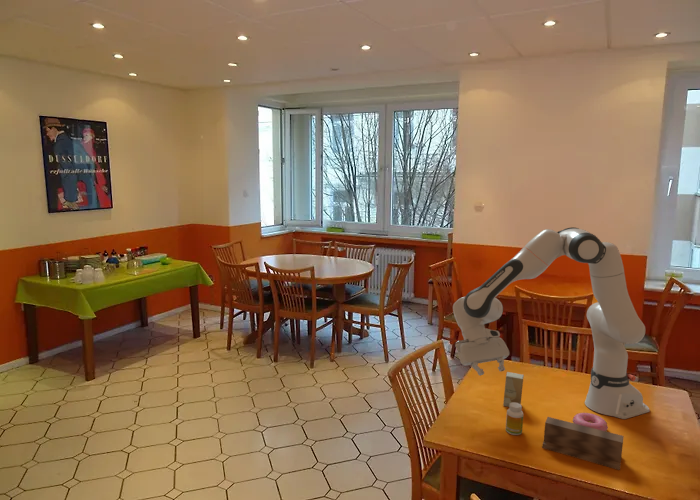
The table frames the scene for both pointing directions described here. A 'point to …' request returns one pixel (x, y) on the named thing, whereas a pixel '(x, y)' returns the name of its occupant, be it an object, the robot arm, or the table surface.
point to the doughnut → (590, 421)
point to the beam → (583, 442)
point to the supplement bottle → (514, 419)
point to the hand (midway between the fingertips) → (492, 372)
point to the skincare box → (513, 388)
